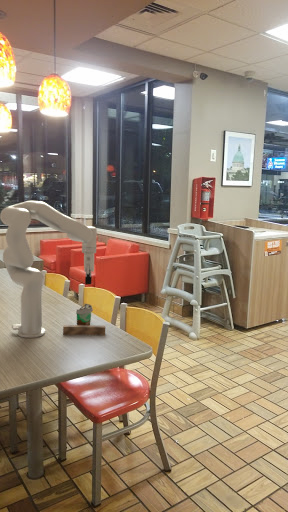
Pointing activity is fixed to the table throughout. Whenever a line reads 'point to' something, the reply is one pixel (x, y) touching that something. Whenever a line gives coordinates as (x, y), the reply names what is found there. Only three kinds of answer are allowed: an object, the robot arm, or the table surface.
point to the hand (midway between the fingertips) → (88, 283)
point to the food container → (84, 315)
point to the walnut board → (83, 330)
